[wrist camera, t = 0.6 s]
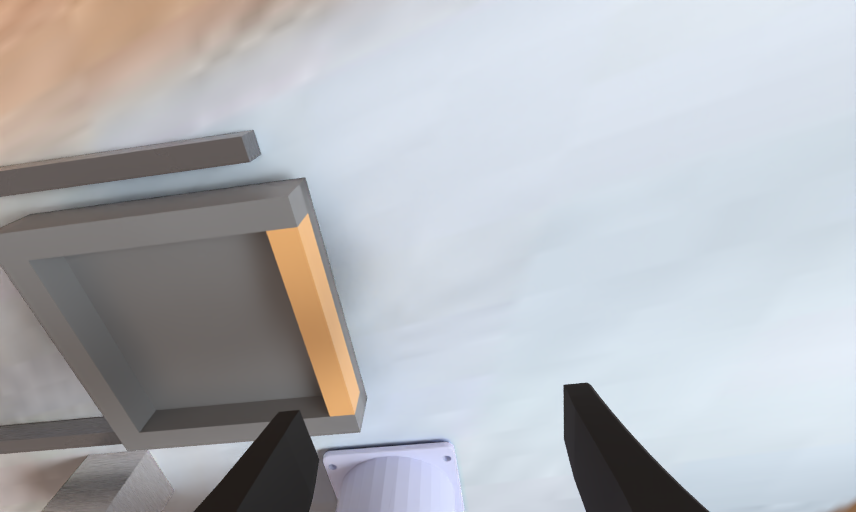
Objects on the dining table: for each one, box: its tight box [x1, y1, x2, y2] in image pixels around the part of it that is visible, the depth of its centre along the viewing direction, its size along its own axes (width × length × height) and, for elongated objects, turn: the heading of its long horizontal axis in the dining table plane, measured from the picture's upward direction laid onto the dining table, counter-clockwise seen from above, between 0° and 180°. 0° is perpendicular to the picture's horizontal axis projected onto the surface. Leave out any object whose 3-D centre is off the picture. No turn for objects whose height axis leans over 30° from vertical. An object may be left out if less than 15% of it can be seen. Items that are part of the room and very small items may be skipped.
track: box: [0, 130, 261, 454], centre depth 21 cm, size 16×22×1 cm
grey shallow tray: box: [0, 178, 367, 451], centre depth 20 cm, size 12×12×3 cm
